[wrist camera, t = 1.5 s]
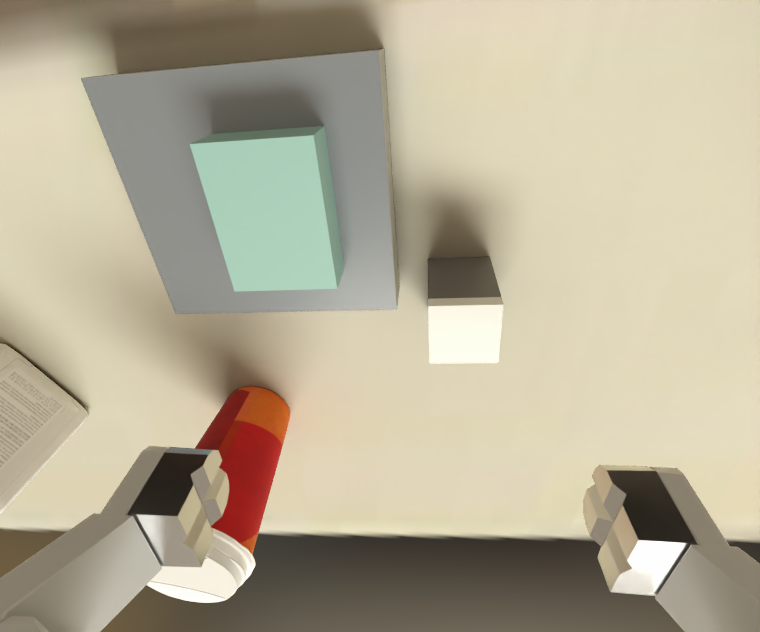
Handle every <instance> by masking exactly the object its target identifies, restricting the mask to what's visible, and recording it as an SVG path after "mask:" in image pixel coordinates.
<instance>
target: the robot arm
mask: <svg viewBox="0 0 760 632" xmlns="http://www.w3.org/2000/svg"><path fill="white" fill-rule="evenodd" d="M221 462H222V458H221V456H220V453H219V451H218V450H206V449H192V448H177V447H160V446H149V447H147V448H146V449H145V450H143V451H142V452H141V454H140V455H139V457H138V458H137V460H136V461H135V463H134V464H133V466H132V467H131V469H130V470H129V472H128V473H127V475H126V476H125V478H124V479H123V481H122V482H121V484H120V485H119V487H118V488H117V490H116V491H115V493H114V494H113V496H112V497H111V498H110V500H109V501H108V503H107V504H106V506H105V507H104V509H103V510H102V512H101V513H100V514H92V515H91V516H89V517H88V518H86V519H85V520H83V521H82V522H81V523H79V524H78V525H76V526H75V527H73V528H72V529H71V530H69V531H68V532H66V533H65V534H63V535H62V536H61V537H59V538H58V539H56V540H55V541H53V542H52V543H50V544H49V545H48V546H46V547H45V548H43V549H42V550H40V551H39V552H38V553H36V554H35V555H33V556H32V557H30V558H29V559H27V560H26V561H25V562H23V563H22V564H20V565H19V566H17V567H16V568H15V569H13V570H12V571H10V572H9V573H7V574H6V575H5V576H3V577H2V578H0V632H100V631H101V630H102V629H103V628H104V627H105V626H106V625H107V624H108V623H109V622H110V621H111V620H112V619H113V618H114V617H115V616H116V615H117V614H118V613H119V612H120V611H121V610H122V609H123V608H124V607H125V606H126V605H127V604H128V603H129V602H130V601H131V600H132V599H133V598H134V597H135V595H137V594H138V592H140V591H141V590H142V589H143V588H144V587H145V586H146V585H147V584H148V583H149V582H150V581H151V580H152V579H153V577H154V576H155V575H156V574H157V573H158V572H159V571H160V570H161V569H162V567H161V566H172V567H202V565H203V562H204V560H205V557H206V555H207V552H208V550H209V548H210V545H211V543H212V540H213V538H214V534H213V531H212V527H211V526H212V525H213V524H214V523H215V522H216V521H217V520H219V519H220V518H221V517H222V515H223V513H224V510H225V507H226V505H227V500H228V495H229V480H228V476H227V473H225V472H224V471H223V470H222V469H220V468H219V466H220V464H221ZM592 477H593V480H594V482H595V485H593V486H592V487H590V488H588V489H587V491H586V494H585V497H584V500H583V513H584V518H585V523H586V526H587V529H588V532H589V535H590V536H591V537H592V538H593V539H594V540H595V541H596V542H597V543H598V544H599V545H600V546H601V549H600V552H599V555H598V560H599V562H600V565H601V568H602V571H603V573H604V576H605V579H606V582H607V584H608V587H609V590H610V592H619V593H630V594H641V595H653V596H656V597H655V598H656V600H657V601H658V602H659V603H660V604H661V605H662V607H663V608H664V609H665V610H666V611H667V612H668V613H669V614H670V615H671V616H672V618H673V619H674V620H675V621H676V622H677V623H678V624H679V626H681V628H682V629H683V630H684V631H685V632H760V564H759V563H758V562H757V561H755V560H754V559H753V558H751V557H750V556H749V555H747V554H746V553H745V552H744V551H742V550H741V549H740V548H738V547H730V546H729V545H728V543H727V542H726V540H725V538H724V537H723V535H722V534H721V532H720V531H719V529H718V527H717V526H716V524H715V523H714V521H713V520H712V518H711V516H710V515H709V513H708V512H707V510H706V509H705V507H704V506H703V504H702V502H701V501H700V499H699V498H698V496H697V495H696V493H695V491H694V490H693V488H692V487H691V485H690V484H689V482H688V480H687V479H686V477H685V476H684V474H683V473H682V472H681V471H680V470H678V469H677V468H662V467H647V466H616V465H599V466H598V467H596V468H595V470H594V473H593V475H592Z"/></svg>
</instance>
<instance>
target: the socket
mask: <svg viewBox="0 0 760 632" xmlns="http://www.w3.org/2000/svg"><path fill="white" fill-rule="evenodd" d="M81 80H82V82H83V85H84V87H85V90H86V92H87V95H88V97H89V100H90V102H91V105H92V107H93V110H94V112H95V115H96V117H97V120H98V122H99V125H100V127H101V130H102V132H103V135H104V137H105V140H106V142H107V145H108V147H109V149H110V152H111V154H112V157H113V159H114V162H115V164H116V167H117V169H118V172H119V174H120V177H121V179H122V182H123V184H124V187H125V189H126V192H127V194H128V197H129V199H130V202H131V204H132V207H133V209H134V212H135V214H136V217H137V219H138V221H139V224H140V226H141V229H142V231H143V234H144V236H145V239H146V241H147V244H148V246H149V249H150V251H151V254H152V256H153V259H154V261H155V264H156V266H157V269H158V271H159V274H160V276H161V279H162V281H163V284H164V286H165V289H166V291H167V293H168V296H169V298H170V301H171V303H172V306H173V308H174V311H175V313H176V314H197V313H247V312H297V311H347V310H397V304H398V295H399V272H398V256H397V240H396V225H395V209H394V194H393V178H392V163H391V147H390V132H389V116H388V100H387V85H386V69H385V54H384V49H376V50H366V51H355V52H344V53H334V54H323V55H312V56H302V57H291V58H281V59H270V60H259V61H249V62H238V63H228V64H217V65H206V66H196V67H185V68H174V69H164V70H153V71H143V72H132V73H121V74H112V75H104V76H95V77H87V78H81ZM315 126H325V133H326V140H327V147H328V154H329V161H330V169H331V176H332V183H333V190H334V197H335V204H336V212H337V219H338V226H339V233H340V240H341V247H342V254H343V262H344V271H343V274H342V277H341V280H340V282H339V285H338V288H337V289H312V290H274V291H236V292H235V291H234V288H233V285H232V282H231V278H230V275H229V272H228V268H227V265H226V262H225V259H224V255H223V252H222V249H221V245H220V242H219V239H218V236H217V232H216V229H215V226H214V222H213V219H212V216H211V213H210V209H209V206H208V203H207V199H206V196H205V193H204V190H203V186H202V183H201V180H200V176H199V173H198V170H197V167H196V163H195V160H194V157H193V153H192V150H191V147H190V144H191V143H193V142H195V141H198V140H200V139H202V138H204V137H206V136H209V135H211V134H219V133H233V132H247V131H260V130H274V129H287V128H301V127H315Z"/></svg>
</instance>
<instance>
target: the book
mask: <svg viewBox="0 0 760 632" xmlns="http://www.w3.org/2000/svg"><path fill="white" fill-rule="evenodd" d="M87 417H88V412H87V411H86V410H85V409H84V408H83V407H82V406H81V405H80V404H79V403H78V402H77V401H76V400H75V399H73V398H72V397H71V396H70V395H69V394H67V393H66V392H65V391H64V390H63V389H61V388H60V387H59V386H58V385H57V384H55V383H54V382H53V381H52V380H51V379H49V378H48V377H47V376H46V375H44V374H43V373H42V372H41V371H40V370H38V369H37V368H36V367H35V366H34V365H32V364H31V363H30V362H29V361H28V360H26V359H25V358H24V357H23V356H21V355H20V354H19V353H17V352H16V351H15V350H13V349H12V348H10V347H9V346H7V345H6V344H3V343H0V513H2V512H3V511H4V510H5V509H6V508H7V507H8V505H9V504H10V503H11V502H12V501H13V500H14V499H15V498H16V497H17V496H18V495H19V493H20V492H21V491H22V490H23V489H24V488H25V487H26V486H27V485H28V484H29V483H30V481H31V480H32V479H33V478H34V477H35V476H36V475H37V474H38V473H39V472H40V471H41V469H42V468H43V467H44V466H45V465H46V464H47V463H48V462H49V461H50V460H51V459H52V457H53V456H54V455H55V454H56V453H57V452H58V451H59V450H60V449H61V448H62V446H63V445H64V444H65V443H66V442H67V441H68V440H69V439H70V438H71V437H72V436H73V434H74V433H75V432H76V431H77V430H78V429H79V428H80V427H81V426H82V425H83V423H84V422H85V421H86V420H87Z"/></svg>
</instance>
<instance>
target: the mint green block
mask: <svg viewBox="0 0 760 632" xmlns="http://www.w3.org/2000/svg"><path fill="white" fill-rule="evenodd" d="M190 147H191V150H192V153H193V157H194V160H195V163H196V167H197V170H198V173H199V176H200V180H201V183H202V186H203V190H204V193H205V196H206V199H207V203H208V206H209V209H210V213H211V216H212V219H213V222H214V226H215V229H216V232H217V236H218V239H219V242H220V245H221V249H222V252H223V255H224V259H225V262H226V265H227V268H228V272H229V275H230V278H231V282H232V285H233V288H234V291H235V292H236V291H274V290H312V289H337V288H338V285H339V282H340V280H341V277H342V274H343V271H344V262H343V254H342V247H341V240H340V233H339V226H338V219H337V212H336V204H335V197H334V190H333V183H332V176H331V169H330V161H329V154H328V147H327V140H326V133H325V126H315V127H301V128H287V129H274V130H260V131H247V132H233V133H219V134H211V135H209V136H206V137H204V138H202V139H200V140H198V141H195V142H193V143H191V144H190Z"/></svg>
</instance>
